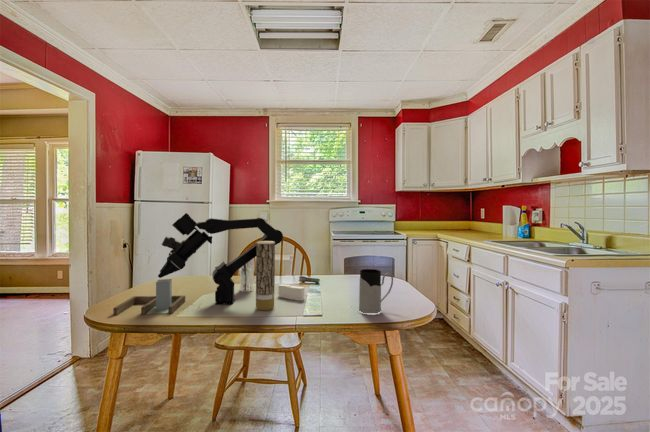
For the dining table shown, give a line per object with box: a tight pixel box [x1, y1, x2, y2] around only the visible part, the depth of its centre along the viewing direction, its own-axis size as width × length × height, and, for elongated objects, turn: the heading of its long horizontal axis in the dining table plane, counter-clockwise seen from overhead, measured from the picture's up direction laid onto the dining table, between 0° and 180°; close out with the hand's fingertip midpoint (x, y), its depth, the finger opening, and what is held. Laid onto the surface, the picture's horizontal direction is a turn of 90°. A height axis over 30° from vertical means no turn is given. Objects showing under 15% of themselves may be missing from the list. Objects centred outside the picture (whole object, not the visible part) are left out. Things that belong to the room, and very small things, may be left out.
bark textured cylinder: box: [255, 240, 276, 312], centre depth 122 cm, size 7×7×25 cm
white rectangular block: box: [277, 283, 305, 301], centre depth 138 cm, size 15×11×6 cm
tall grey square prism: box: [155, 278, 173, 310], centre depth 121 cm, size 4×4×10 cm
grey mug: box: [358, 268, 394, 313], centre depth 121 cm, size 9×14×15 cm, turn 113°
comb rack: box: [113, 294, 186, 316], centre depth 121 cm, size 19×15×2 cm
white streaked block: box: [238, 257, 256, 293], centre depth 149 cm, size 7×7×15 cm
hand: (159, 274), depth 120 cm, fingers open, 9 cm apart
